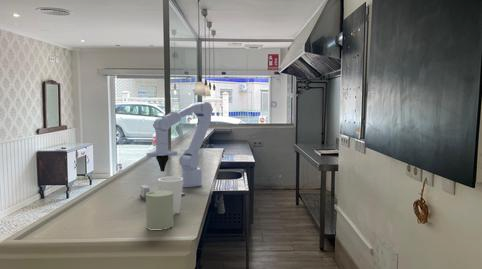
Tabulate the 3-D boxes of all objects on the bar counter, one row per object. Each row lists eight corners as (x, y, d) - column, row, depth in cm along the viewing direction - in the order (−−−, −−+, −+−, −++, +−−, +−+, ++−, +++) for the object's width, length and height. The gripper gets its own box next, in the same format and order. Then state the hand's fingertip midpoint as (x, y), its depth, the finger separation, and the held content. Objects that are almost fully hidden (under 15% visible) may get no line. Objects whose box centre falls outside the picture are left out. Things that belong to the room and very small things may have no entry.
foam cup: (162, 208, 142) (161, 176, 141) (185, 208, 142) (184, 176, 141) (155, 215, 132) (155, 181, 131) (180, 216, 132) (180, 181, 131)
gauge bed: (178, 191, 171) (177, 180, 171) (184, 195, 162) (184, 184, 162) (140, 195, 163) (139, 184, 162) (144, 200, 154) (144, 189, 154)
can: (148, 222, 125) (148, 188, 124) (175, 221, 126) (174, 188, 125) (143, 231, 116) (143, 195, 115) (172, 230, 117) (171, 194, 116)
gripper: (174, 141, 178) (174, 168, 179) (144, 143, 171) (145, 171, 172) (178, 143, 172) (178, 170, 173) (148, 144, 165) (148, 173, 166)
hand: (162, 171), depth 172 cm, fingers closed
